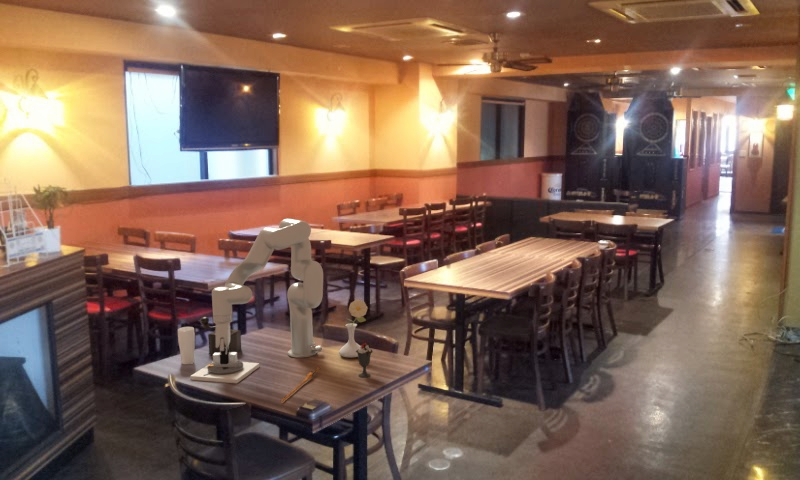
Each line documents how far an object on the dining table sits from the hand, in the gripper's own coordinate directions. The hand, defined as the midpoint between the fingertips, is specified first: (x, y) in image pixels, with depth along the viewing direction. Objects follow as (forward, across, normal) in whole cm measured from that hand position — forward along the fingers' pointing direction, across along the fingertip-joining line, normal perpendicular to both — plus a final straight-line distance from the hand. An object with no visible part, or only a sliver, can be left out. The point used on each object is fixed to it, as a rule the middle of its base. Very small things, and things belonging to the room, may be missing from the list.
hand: (225, 361), depth 277 cm
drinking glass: (+5, -16, -17) cm, 24 cm away
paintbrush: (+5, +21, +31) cm, 37 cm away
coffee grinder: (+5, -26, -5) cm, 27 cm away
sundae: (+5, +12, +56) cm, 57 cm away
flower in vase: (+5, -14, +53) cm, 55 cm away
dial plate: (+5, 0, 0) cm, 5 cm away
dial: (+3, 0, 0) cm, 3 cm away
